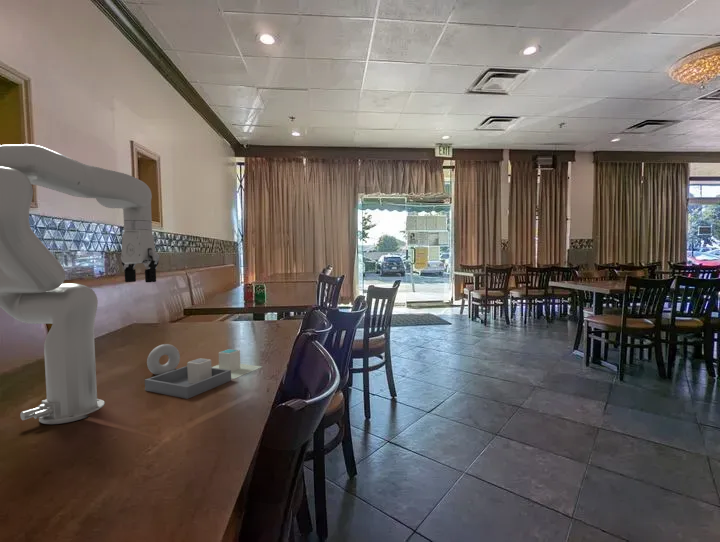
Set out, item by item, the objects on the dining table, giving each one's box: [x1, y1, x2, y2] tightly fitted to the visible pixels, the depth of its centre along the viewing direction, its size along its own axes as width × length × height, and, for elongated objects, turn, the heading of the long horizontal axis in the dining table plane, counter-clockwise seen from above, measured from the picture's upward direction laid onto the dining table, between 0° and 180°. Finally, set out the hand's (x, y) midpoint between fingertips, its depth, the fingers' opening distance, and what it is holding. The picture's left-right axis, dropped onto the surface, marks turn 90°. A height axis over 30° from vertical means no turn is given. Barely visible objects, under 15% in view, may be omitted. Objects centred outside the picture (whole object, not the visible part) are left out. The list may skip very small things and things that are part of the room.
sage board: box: [212, 363, 262, 380], centre depth 118 cm, size 13×16×1 cm
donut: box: [146, 343, 181, 376], centre depth 117 cm, size 10×4×10 cm, turn 143°
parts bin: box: [144, 365, 232, 400], centre depth 104 cm, size 15×17×4 cm
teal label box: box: [218, 348, 241, 372], centre depth 118 cm, size 5×5×6 cm
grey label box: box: [186, 358, 213, 384], centre depth 107 cm, size 5×5×6 cm
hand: (140, 282), depth 114 cm, fingers open, 9 cm apart
